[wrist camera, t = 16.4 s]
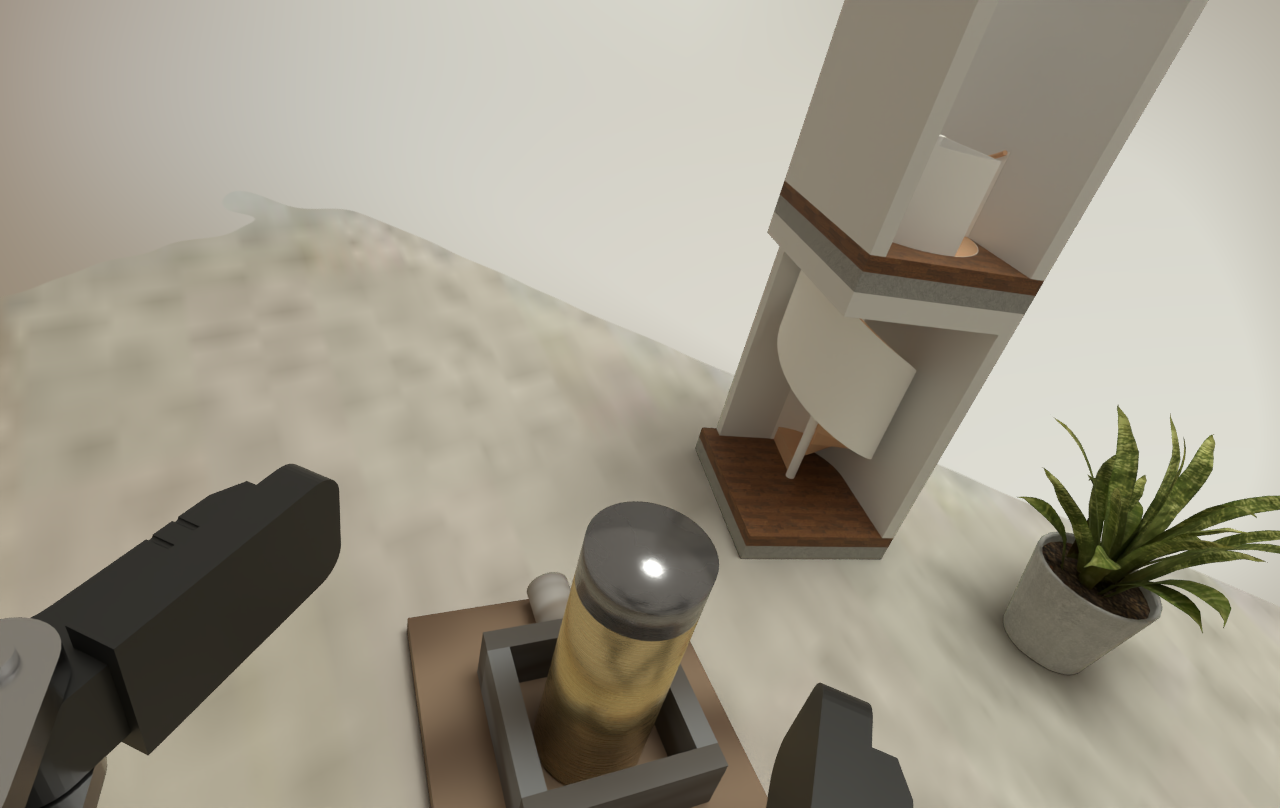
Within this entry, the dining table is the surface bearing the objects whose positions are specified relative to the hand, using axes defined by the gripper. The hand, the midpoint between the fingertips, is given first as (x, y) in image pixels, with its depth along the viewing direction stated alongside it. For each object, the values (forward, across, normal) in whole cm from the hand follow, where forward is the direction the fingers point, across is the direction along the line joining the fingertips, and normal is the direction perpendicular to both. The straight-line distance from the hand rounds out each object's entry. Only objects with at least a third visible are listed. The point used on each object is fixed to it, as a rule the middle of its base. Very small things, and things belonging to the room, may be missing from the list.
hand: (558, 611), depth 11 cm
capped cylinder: (+11, 0, -21) cm, 24 cm away
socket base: (+11, 0, -22) cm, 25 cm away
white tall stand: (+35, +6, -22) cm, 42 cm away
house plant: (+30, +26, -22) cm, 45 cm away
